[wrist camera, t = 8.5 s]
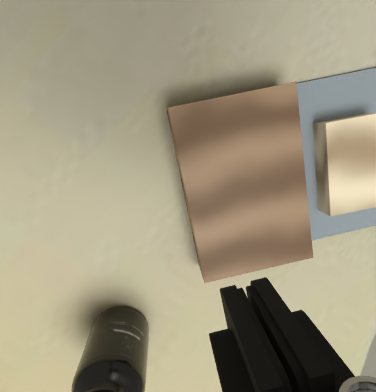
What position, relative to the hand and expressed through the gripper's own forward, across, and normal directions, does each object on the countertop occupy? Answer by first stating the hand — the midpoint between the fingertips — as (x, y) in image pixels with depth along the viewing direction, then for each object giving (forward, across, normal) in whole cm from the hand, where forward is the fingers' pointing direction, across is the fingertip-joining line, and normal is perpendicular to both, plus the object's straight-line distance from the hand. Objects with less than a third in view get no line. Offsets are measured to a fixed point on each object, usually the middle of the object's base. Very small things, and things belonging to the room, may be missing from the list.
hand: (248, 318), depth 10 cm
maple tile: (+21, -18, +1) cm, 27 cm away
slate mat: (+22, -18, +1) cm, 28 cm away
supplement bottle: (+22, +12, +16) cm, 30 cm away
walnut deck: (+22, -6, +1) cm, 23 cm away
